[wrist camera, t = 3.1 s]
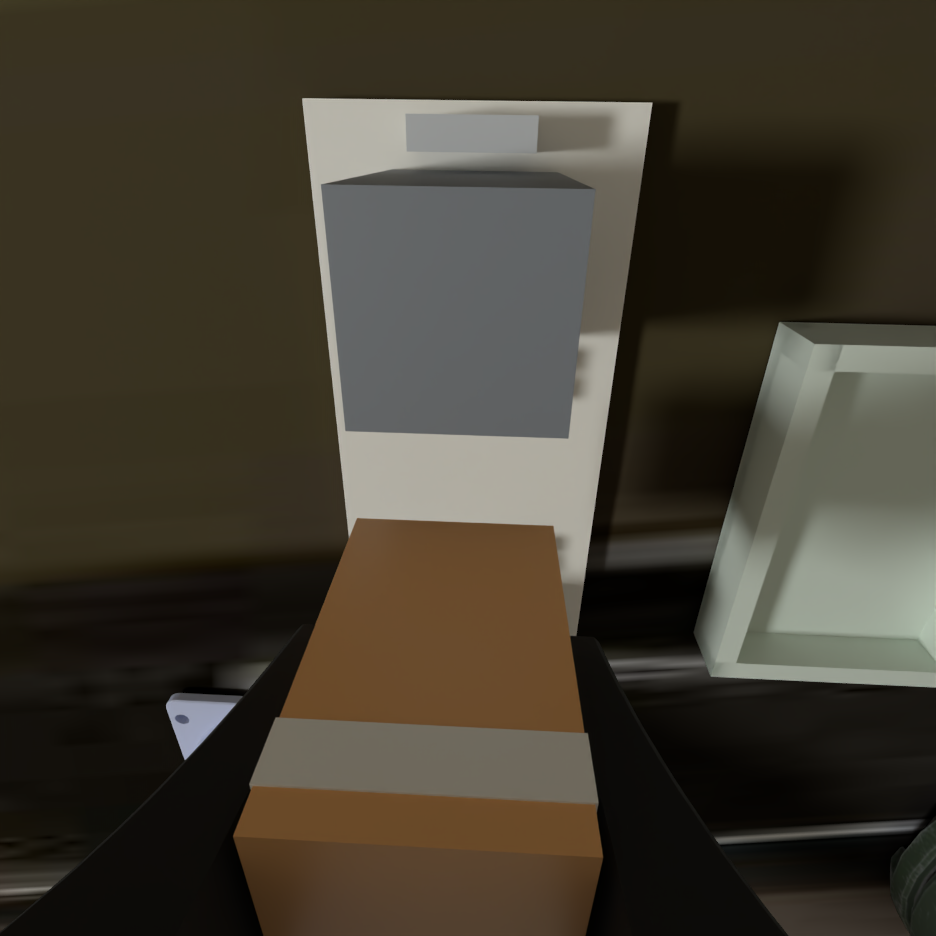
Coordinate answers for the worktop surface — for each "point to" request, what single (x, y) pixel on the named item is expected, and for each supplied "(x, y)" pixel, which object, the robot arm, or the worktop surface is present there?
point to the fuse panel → (497, 457)
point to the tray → (832, 515)
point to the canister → (916, 882)
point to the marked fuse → (429, 748)
